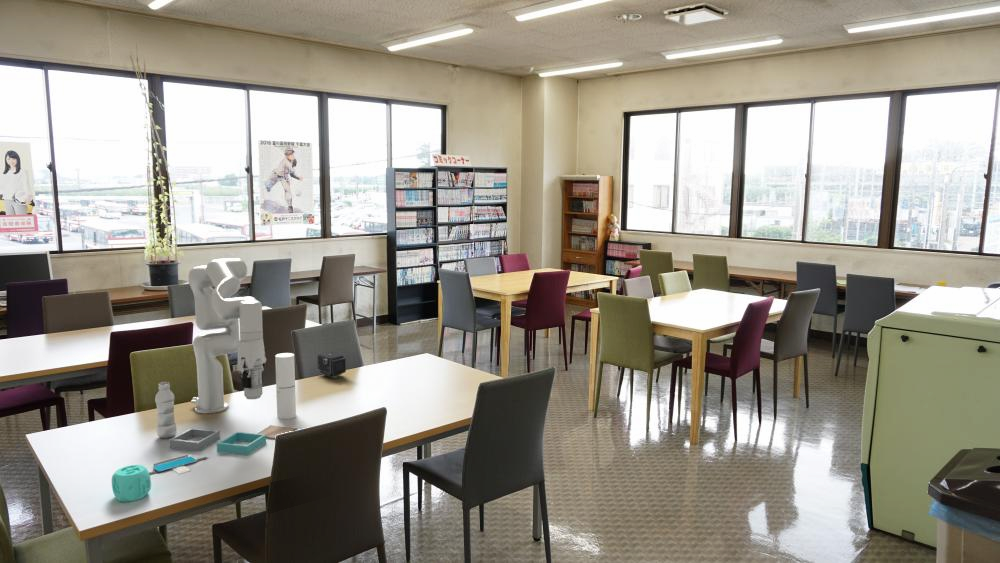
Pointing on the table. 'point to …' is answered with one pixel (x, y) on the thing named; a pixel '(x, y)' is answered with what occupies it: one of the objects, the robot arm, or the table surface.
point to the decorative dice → (131, 483)
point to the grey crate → (182, 442)
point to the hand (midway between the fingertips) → (253, 384)
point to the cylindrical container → (285, 385)
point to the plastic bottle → (165, 411)
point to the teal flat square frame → (229, 447)
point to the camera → (331, 364)
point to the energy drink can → (255, 381)
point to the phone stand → (175, 464)
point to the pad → (275, 431)
